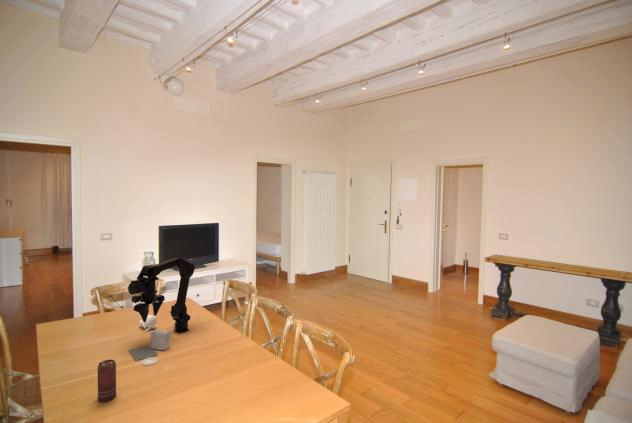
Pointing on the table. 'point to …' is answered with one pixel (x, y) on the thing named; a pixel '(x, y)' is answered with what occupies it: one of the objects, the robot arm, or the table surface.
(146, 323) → the white animal figurine
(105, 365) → the can
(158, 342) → the medicine box
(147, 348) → the mat
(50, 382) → the table surface
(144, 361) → the white glossy disc
